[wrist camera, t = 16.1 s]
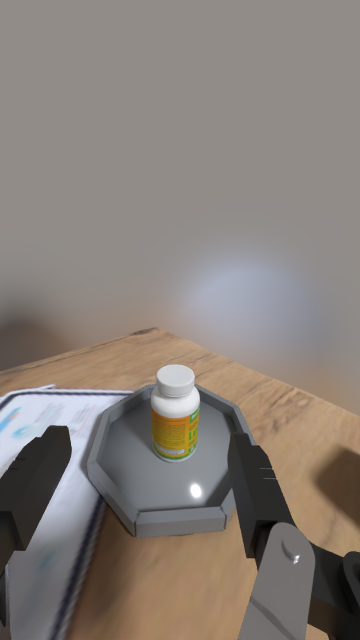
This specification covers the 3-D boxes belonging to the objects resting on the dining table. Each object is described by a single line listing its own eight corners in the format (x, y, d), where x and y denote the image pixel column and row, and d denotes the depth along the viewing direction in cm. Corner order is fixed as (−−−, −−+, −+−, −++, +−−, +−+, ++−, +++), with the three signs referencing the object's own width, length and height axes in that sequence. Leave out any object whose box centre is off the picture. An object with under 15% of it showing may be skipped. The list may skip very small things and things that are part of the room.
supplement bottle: (195, 468, 24) (200, 393, 20) (146, 460, 24) (143, 387, 21) (198, 428, 29) (202, 362, 25) (157, 423, 29) (156, 358, 26)
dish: (65, 451, 26) (62, 435, 25) (170, 382, 39) (170, 370, 38) (184, 608, 15) (186, 589, 14) (274, 440, 28) (277, 425, 27)
